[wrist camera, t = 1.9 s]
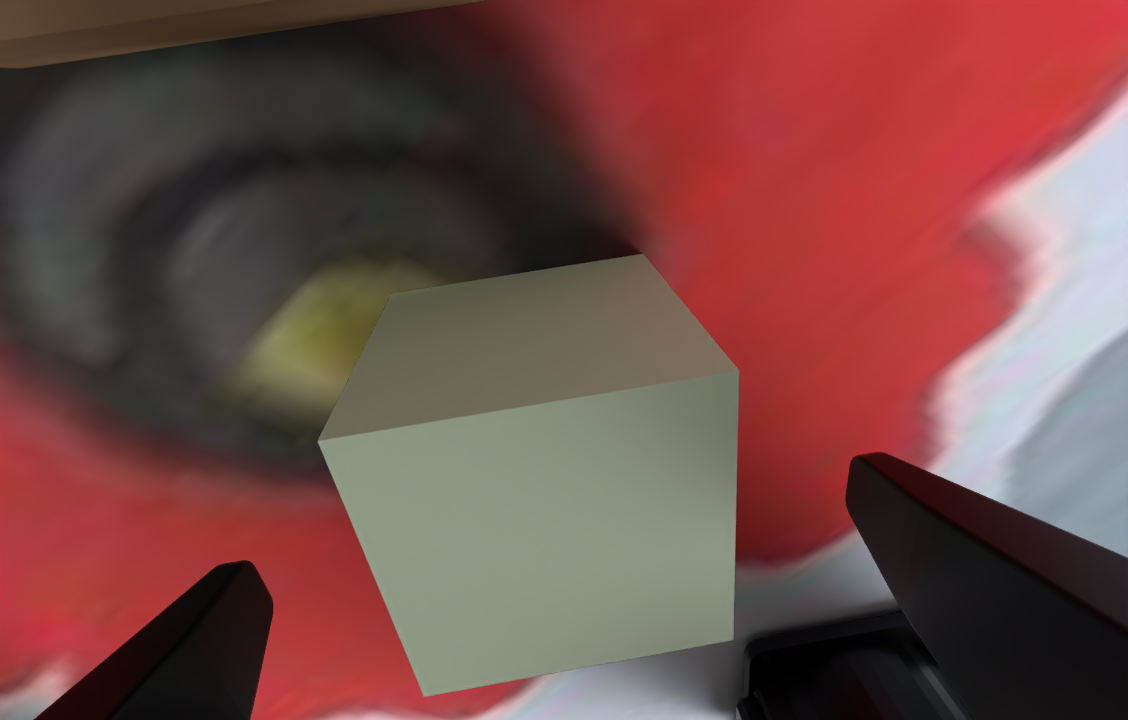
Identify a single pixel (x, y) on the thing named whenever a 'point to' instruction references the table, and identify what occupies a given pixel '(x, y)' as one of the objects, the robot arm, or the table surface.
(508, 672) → the sage cube
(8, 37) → the base brick
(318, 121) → the table surface
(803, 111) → the table surface
